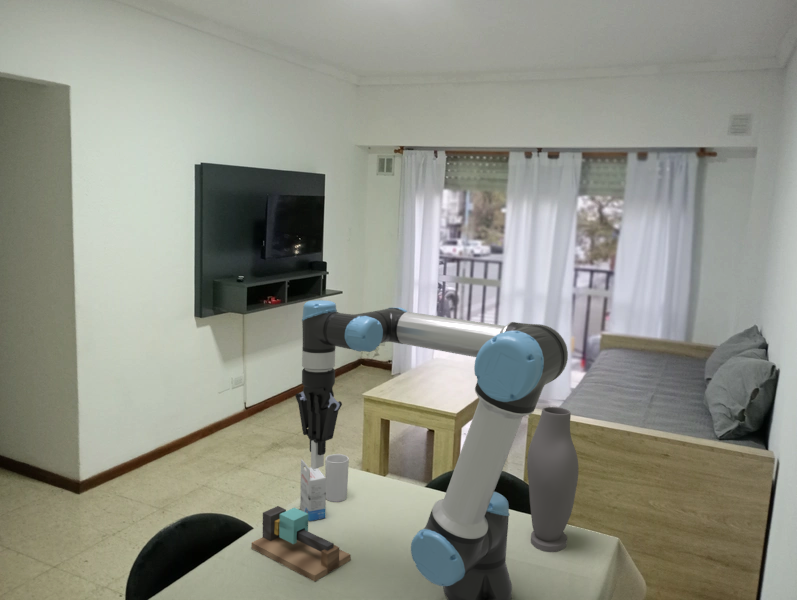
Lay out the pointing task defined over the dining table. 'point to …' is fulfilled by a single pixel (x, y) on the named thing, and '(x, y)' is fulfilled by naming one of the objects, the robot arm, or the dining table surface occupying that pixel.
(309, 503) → the ink box
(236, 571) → the dining table surface
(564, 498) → the vase
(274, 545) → the cradle board
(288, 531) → the sleeve
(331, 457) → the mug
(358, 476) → the dining table surface
